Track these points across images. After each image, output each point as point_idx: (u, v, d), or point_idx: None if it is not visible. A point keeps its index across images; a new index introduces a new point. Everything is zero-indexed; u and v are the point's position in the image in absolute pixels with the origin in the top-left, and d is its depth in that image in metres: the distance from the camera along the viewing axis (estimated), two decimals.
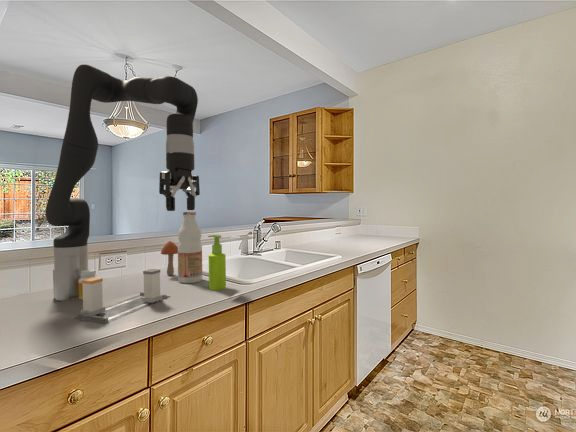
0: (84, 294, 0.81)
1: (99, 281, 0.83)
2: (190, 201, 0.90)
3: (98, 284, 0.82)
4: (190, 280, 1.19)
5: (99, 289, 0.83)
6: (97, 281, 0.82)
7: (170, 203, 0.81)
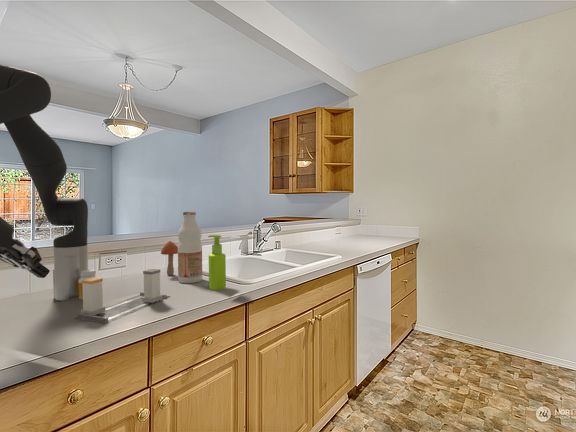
0: (84, 294, 0.81)
1: (99, 281, 0.83)
2: None
3: (98, 284, 0.82)
4: (190, 280, 1.19)
5: (99, 289, 0.83)
6: (97, 281, 0.82)
7: None
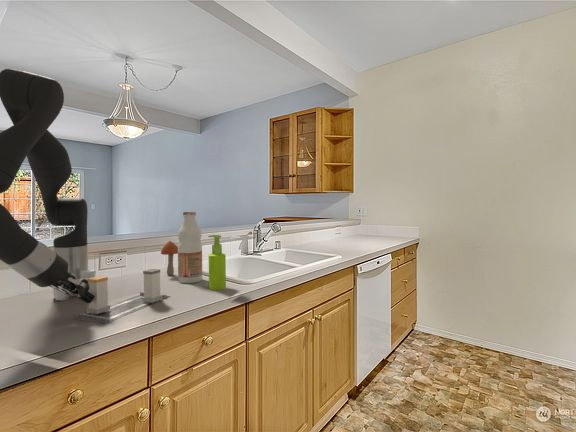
0: (90, 292, 0.83)
1: (104, 280, 0.84)
2: None
3: (103, 283, 0.84)
4: (190, 280, 1.19)
5: (104, 287, 0.84)
6: (102, 280, 0.83)
7: None
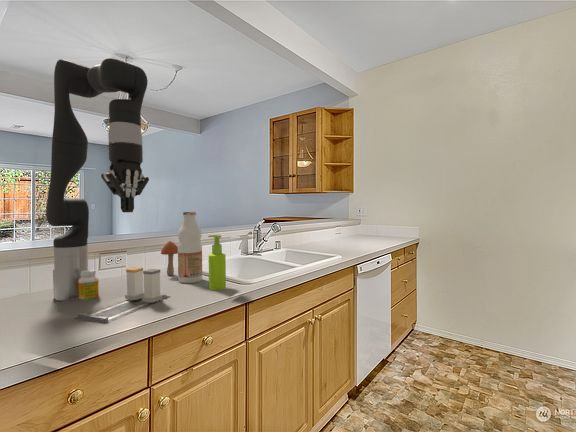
0: (128, 281, 0.95)
1: (140, 270, 0.96)
2: None
3: (139, 273, 0.96)
4: (190, 280, 1.19)
5: (140, 277, 0.96)
6: (139, 270, 0.95)
7: (125, 204, 0.76)
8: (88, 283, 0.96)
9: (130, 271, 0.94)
